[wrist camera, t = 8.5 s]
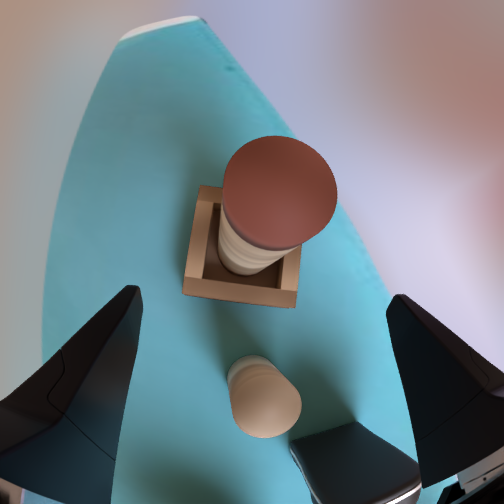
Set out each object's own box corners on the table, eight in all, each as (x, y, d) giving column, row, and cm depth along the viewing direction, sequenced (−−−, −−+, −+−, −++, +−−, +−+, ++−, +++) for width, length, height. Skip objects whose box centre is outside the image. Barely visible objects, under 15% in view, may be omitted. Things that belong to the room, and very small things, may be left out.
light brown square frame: (286, 308, 23) (295, 308, 20) (185, 295, 22) (181, 294, 19) (296, 212, 24) (305, 201, 22) (201, 197, 24) (199, 184, 21)
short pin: (273, 402, 21) (295, 438, 15) (224, 399, 21) (228, 435, 14) (280, 357, 22) (306, 378, 15) (230, 352, 22) (236, 373, 15)
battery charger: (291, 471, 20) (334, 550, 9) (286, 440, 21) (333, 518, 10) (360, 449, 21) (429, 506, 10) (359, 418, 22) (436, 469, 11)
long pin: (257, 285, 22) (316, 263, 9) (209, 263, 22) (203, 212, 9) (277, 238, 23) (349, 165, 10) (230, 217, 23) (252, 120, 10)
